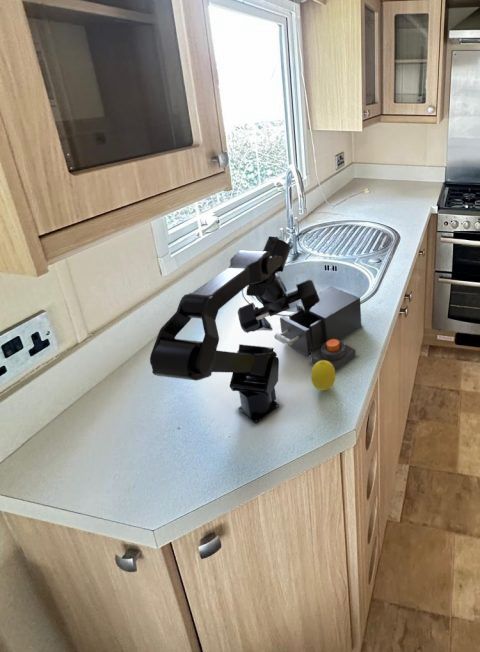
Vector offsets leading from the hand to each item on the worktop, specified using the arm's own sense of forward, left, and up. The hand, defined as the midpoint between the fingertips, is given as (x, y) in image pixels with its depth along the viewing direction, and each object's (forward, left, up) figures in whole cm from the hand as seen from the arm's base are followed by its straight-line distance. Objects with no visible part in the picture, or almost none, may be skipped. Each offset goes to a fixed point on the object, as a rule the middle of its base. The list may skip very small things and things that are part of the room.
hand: (289, 321), depth 103 cm
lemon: (-4, -16, -10) cm, 20 cm away
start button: (+5, -10, -7) cm, 13 cm away
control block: (+5, -10, -10) cm, 15 cm away
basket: (+5, 0, -9) cm, 11 cm away
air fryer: (+14, 0, -10) cm, 17 cm away
